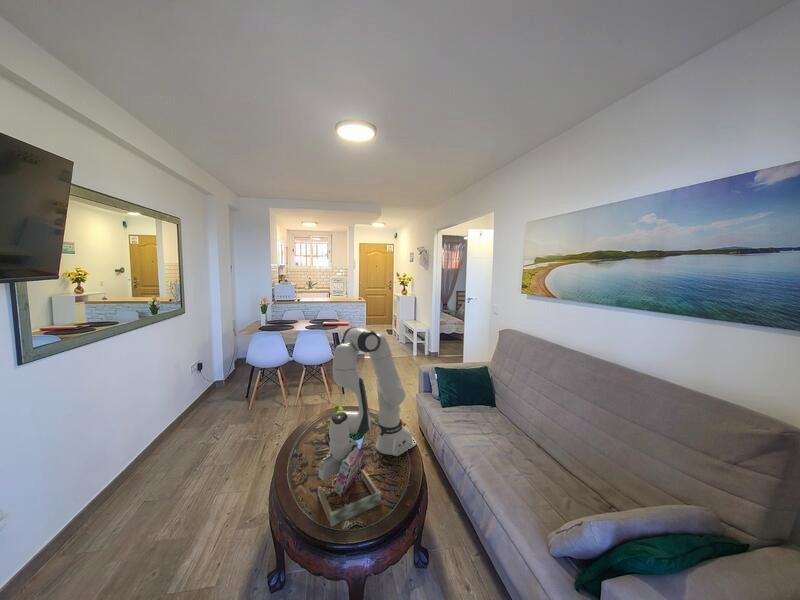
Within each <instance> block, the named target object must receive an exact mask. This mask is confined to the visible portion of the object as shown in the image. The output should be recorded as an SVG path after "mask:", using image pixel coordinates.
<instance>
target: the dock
mask: <svg viewBox="0 0 800 600" xmlns="http://www.w3.org/2000/svg"><path fill="white" fill-rule="evenodd" d="M360 476H361V477H360V478H361V480H362V481H363V483H364V485H365V486H366V487H367V489H368V490H369V493H370V494H369V495H367V496H365V497H363V498H361V499H358V500H356V501H354V502H352V503H349V504H347V505H344V506H343V507H340V508H338V509H336V510H334V511H333V510H332V508H331V506H330V503H329V502H328V499H327V497H326V494H325V493H324V490H323V488H322V486H318V487H317V497H318V499H319V501H320V504H321V506H322V508H323V511H324V513H325V515H326V518H327V520H328V522H329V525H330V527H335V526H337V525H338V524H340V523H343V522H345V521H347V520H349V519H352V518H354V517H356V516H358V515H360V514H361V513H364V512H366V511H369V510H370V509H373V508H374V507H377V506H379V505H381V504H382V492H381V490H379V489H378V488H377V487H376V485H375V484H374V482H373V480H372V479H371V478H370V476H369V474H368V472H367V471H366V470H365V469H361V475H360Z"/></svg>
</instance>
